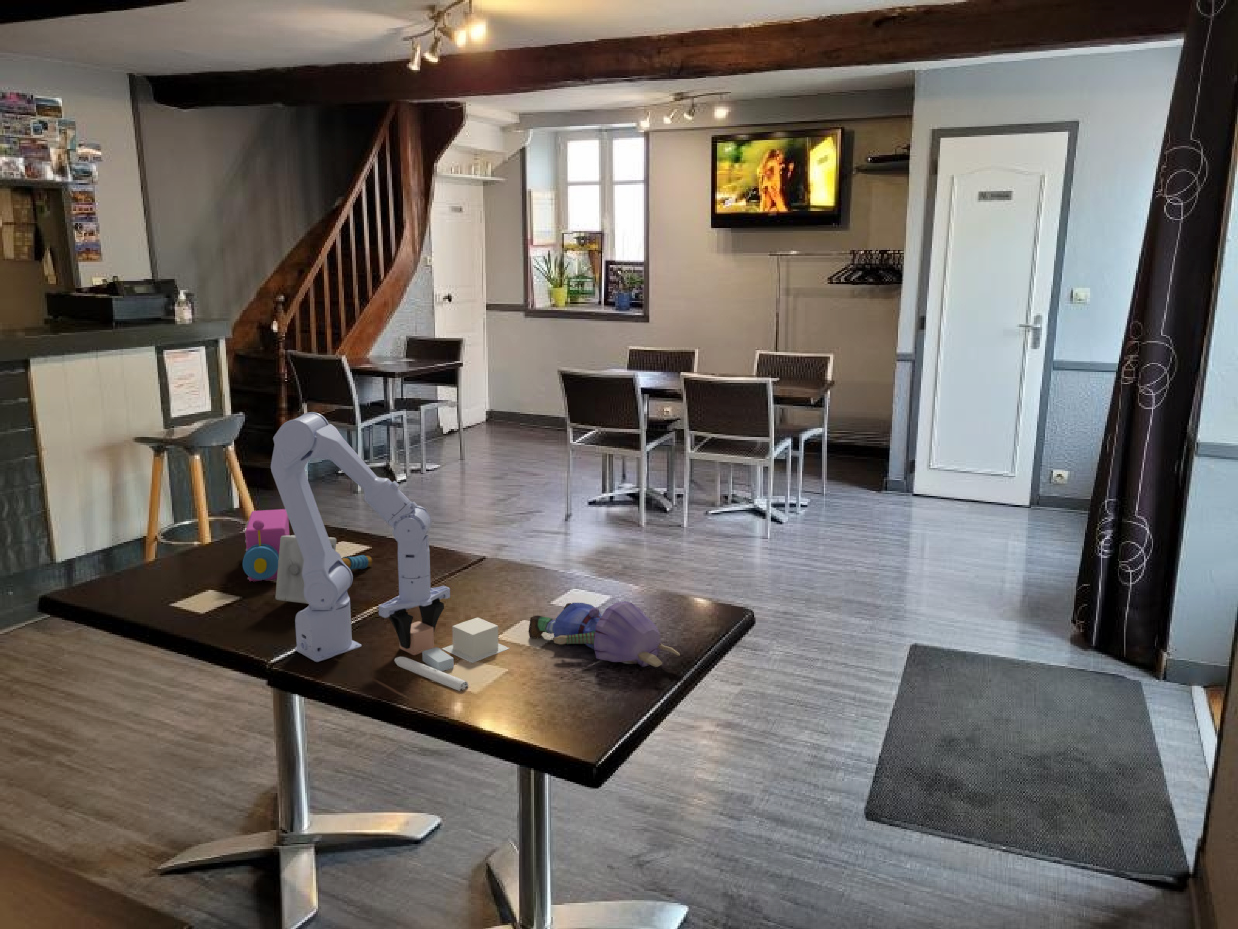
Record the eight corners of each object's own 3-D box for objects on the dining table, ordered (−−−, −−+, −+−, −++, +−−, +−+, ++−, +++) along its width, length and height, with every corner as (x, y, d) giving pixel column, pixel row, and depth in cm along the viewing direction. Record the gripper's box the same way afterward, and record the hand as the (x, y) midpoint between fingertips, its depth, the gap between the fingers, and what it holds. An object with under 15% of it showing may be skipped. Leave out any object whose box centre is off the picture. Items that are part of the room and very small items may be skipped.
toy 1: (253, 553, 226) (249, 494, 223) (291, 550, 229) (288, 492, 226) (243, 590, 201) (238, 524, 197) (287, 586, 203) (282, 521, 200)
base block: (473, 658, 167) (472, 634, 166) (452, 648, 171) (452, 626, 170) (498, 648, 171) (498, 625, 170) (477, 639, 175) (477, 617, 174)
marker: (390, 666, 164) (389, 654, 164) (399, 662, 166) (398, 650, 166) (459, 695, 154) (459, 682, 153) (468, 691, 156) (468, 678, 155)
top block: (414, 657, 168) (413, 634, 167) (399, 650, 171) (398, 627, 170) (434, 650, 171) (433, 627, 170) (419, 643, 174) (419, 621, 173)
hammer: (349, 587, 218) (272, 600, 189) (354, 531, 219) (277, 535, 190) (380, 591, 216) (307, 604, 187) (385, 534, 217) (313, 539, 188)
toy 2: (518, 652, 174) (638, 691, 155) (515, 598, 173) (636, 630, 153) (583, 626, 188) (701, 659, 168) (580, 575, 186) (699, 603, 166)
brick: (453, 671, 163) (453, 658, 162) (438, 675, 161) (438, 662, 160) (437, 659, 167) (437, 647, 167) (422, 664, 166) (422, 651, 165)
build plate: (471, 665, 165) (471, 662, 165) (441, 650, 171) (441, 648, 171) (509, 650, 171) (509, 648, 171) (479, 637, 177) (479, 635, 177)
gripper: (393, 588, 160) (396, 661, 163) (459, 569, 170) (461, 637, 173) (370, 579, 164) (373, 649, 167) (436, 561, 175) (438, 627, 178)
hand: (416, 643), depth 171 cm, fingers closed on top block, 4 cm apart
